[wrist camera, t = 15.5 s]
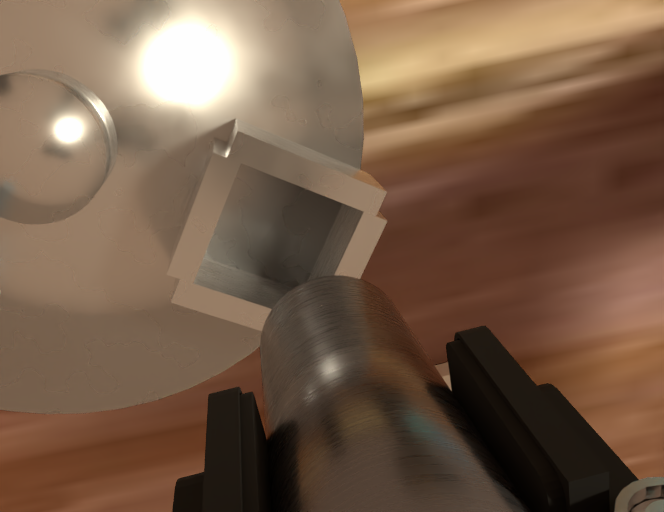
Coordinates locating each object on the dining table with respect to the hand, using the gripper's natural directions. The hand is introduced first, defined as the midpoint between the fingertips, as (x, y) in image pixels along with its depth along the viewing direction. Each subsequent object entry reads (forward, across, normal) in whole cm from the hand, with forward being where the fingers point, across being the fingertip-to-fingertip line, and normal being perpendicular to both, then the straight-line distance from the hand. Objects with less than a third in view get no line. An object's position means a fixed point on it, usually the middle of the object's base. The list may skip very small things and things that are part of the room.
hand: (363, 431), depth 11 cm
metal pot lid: (+17, +8, -4) cm, 19 cm away
